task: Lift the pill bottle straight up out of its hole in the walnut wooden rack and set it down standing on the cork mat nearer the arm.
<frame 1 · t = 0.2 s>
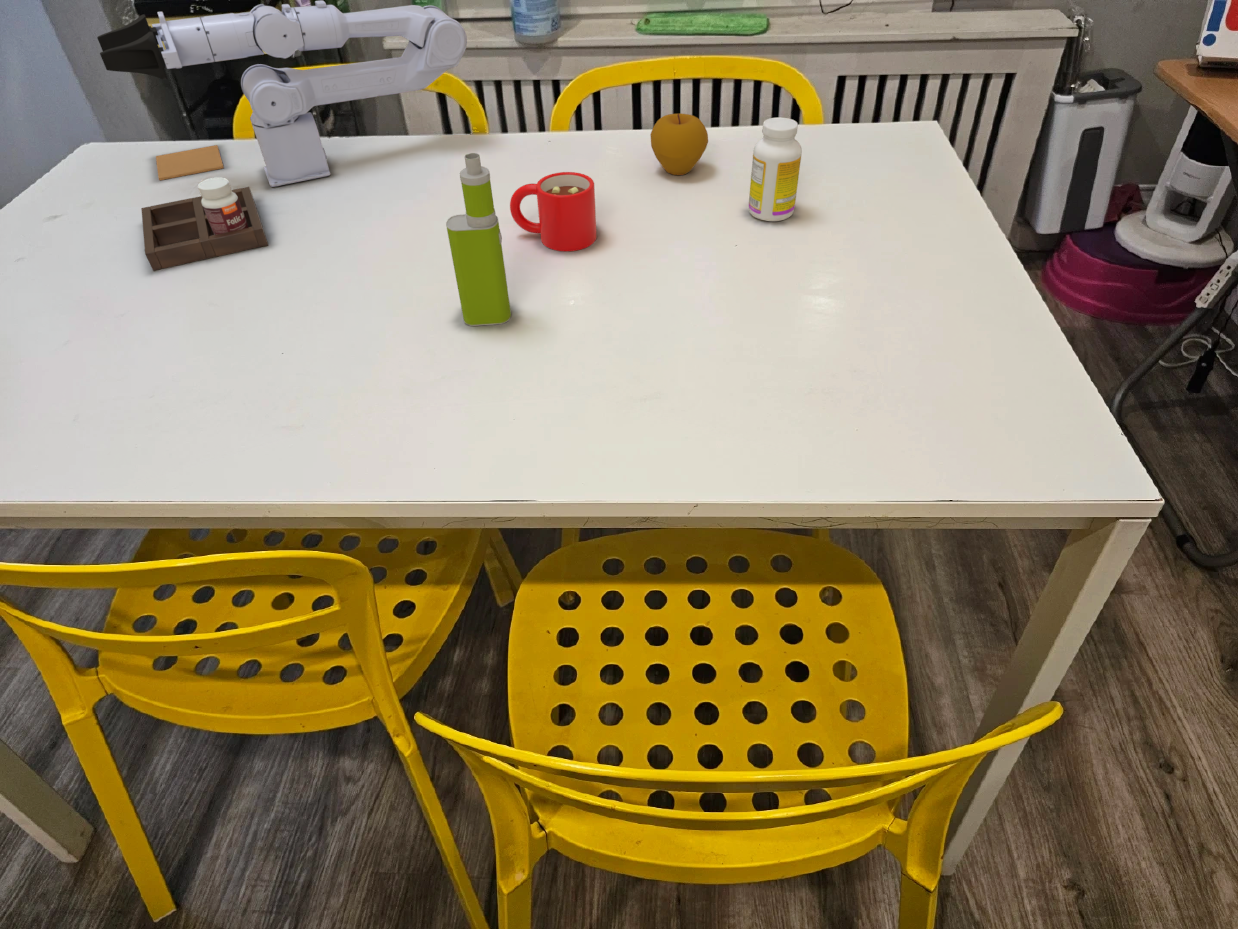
hand: (101, 53, 109), 21 cm above the table, tool horizontal, fingers open, 7 cm apart
apple: (678, 172, 127), on the table
cork mat: (189, 163, 134), on the table
mug: (554, 238, 112), on the table
pill bottle: (235, 240, 114), resting in rack
supplement bottle: (770, 213, 116), on the table
rack: (207, 234, 115), on the table
vape: (488, 317, 98), on the table
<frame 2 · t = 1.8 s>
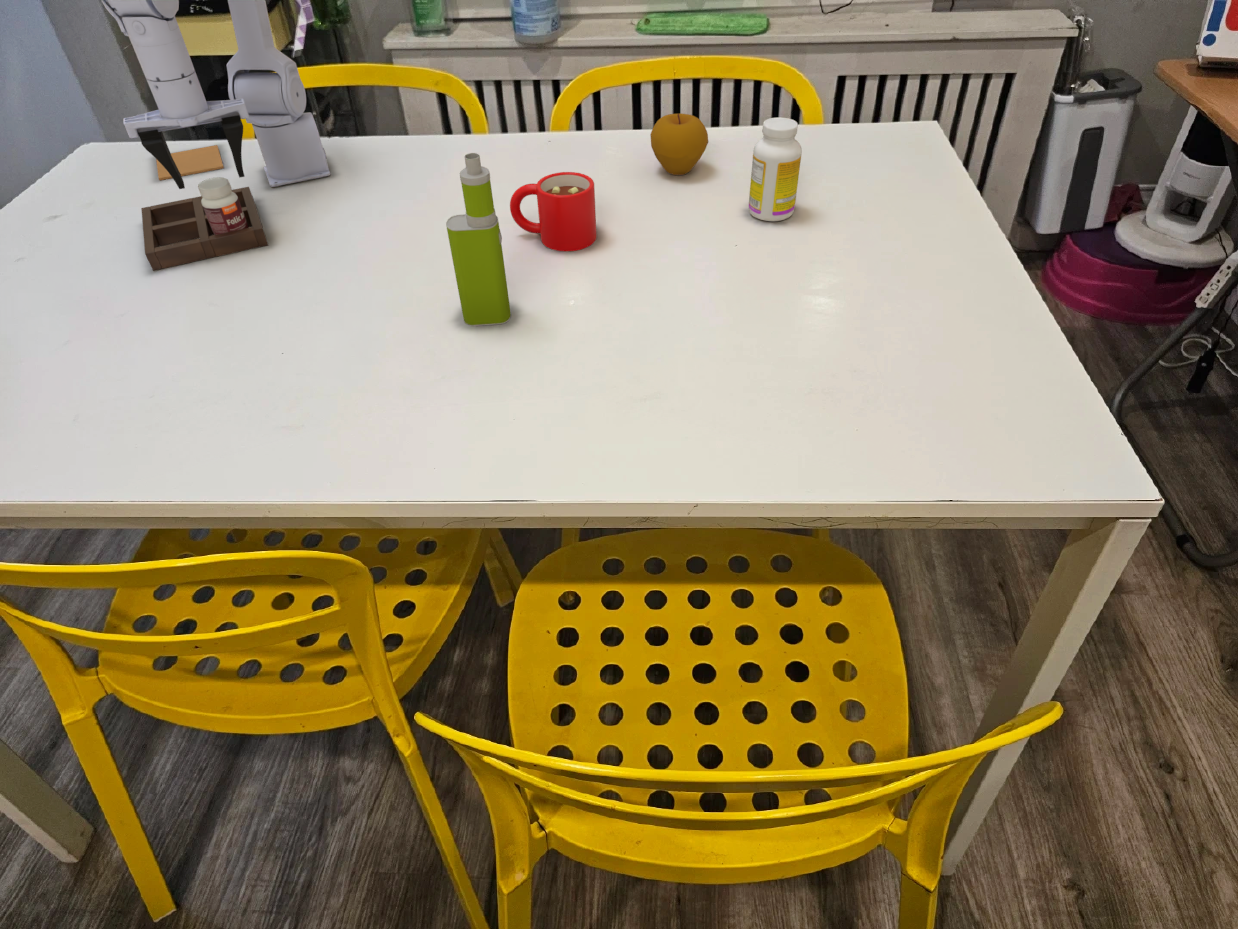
hand: (211, 180, 108), 9 cm above the table, tool pointing down, fingers open, 7 cm apart
nothing on the table moved.
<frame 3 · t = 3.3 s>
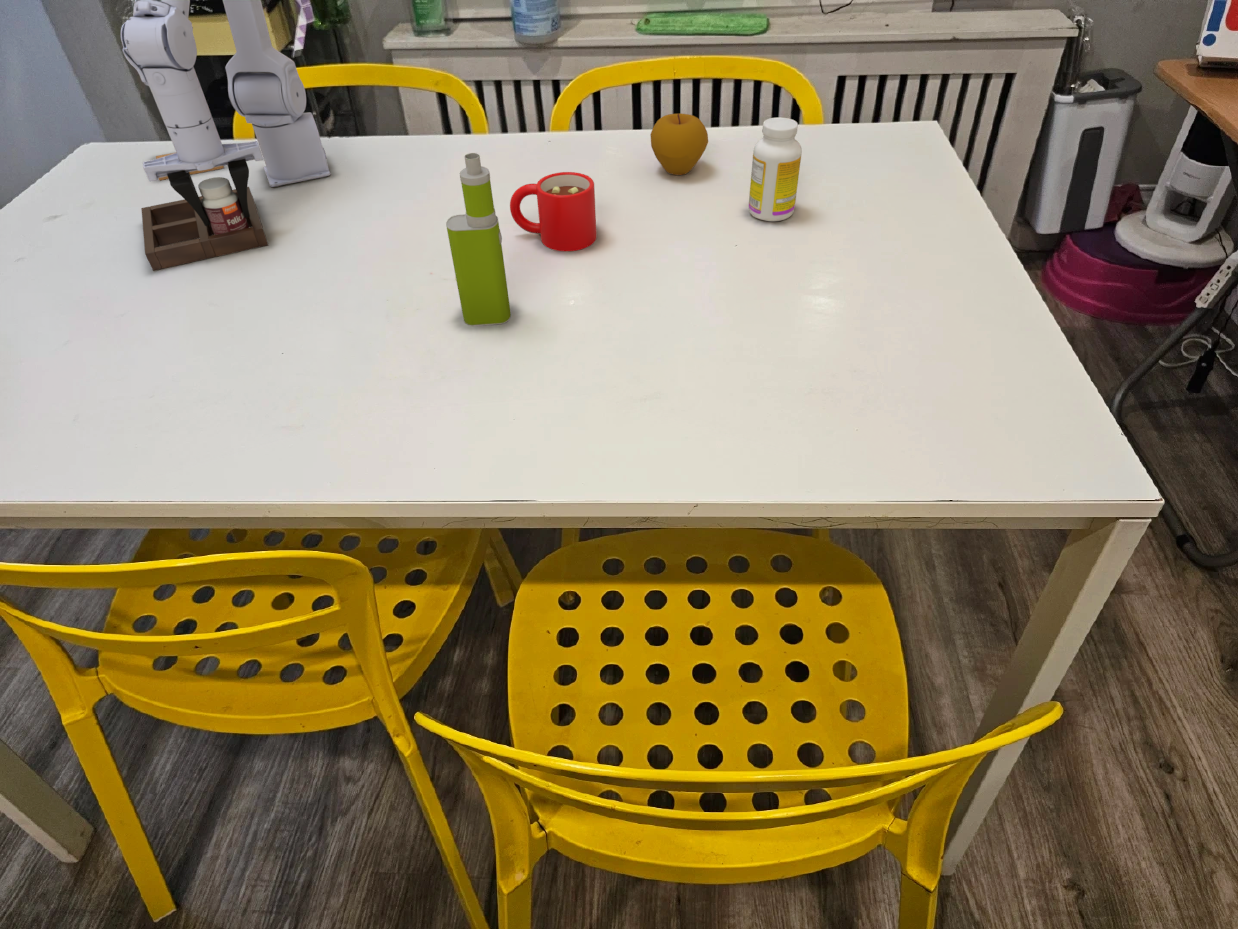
hand: (226, 218, 112), 3 cm above the table, tool pointing down, fingers closed on pill bottle, 5 cm apart
pill bottle: (235, 240, 114), resting in rack, touching gripper
everything else where it was.
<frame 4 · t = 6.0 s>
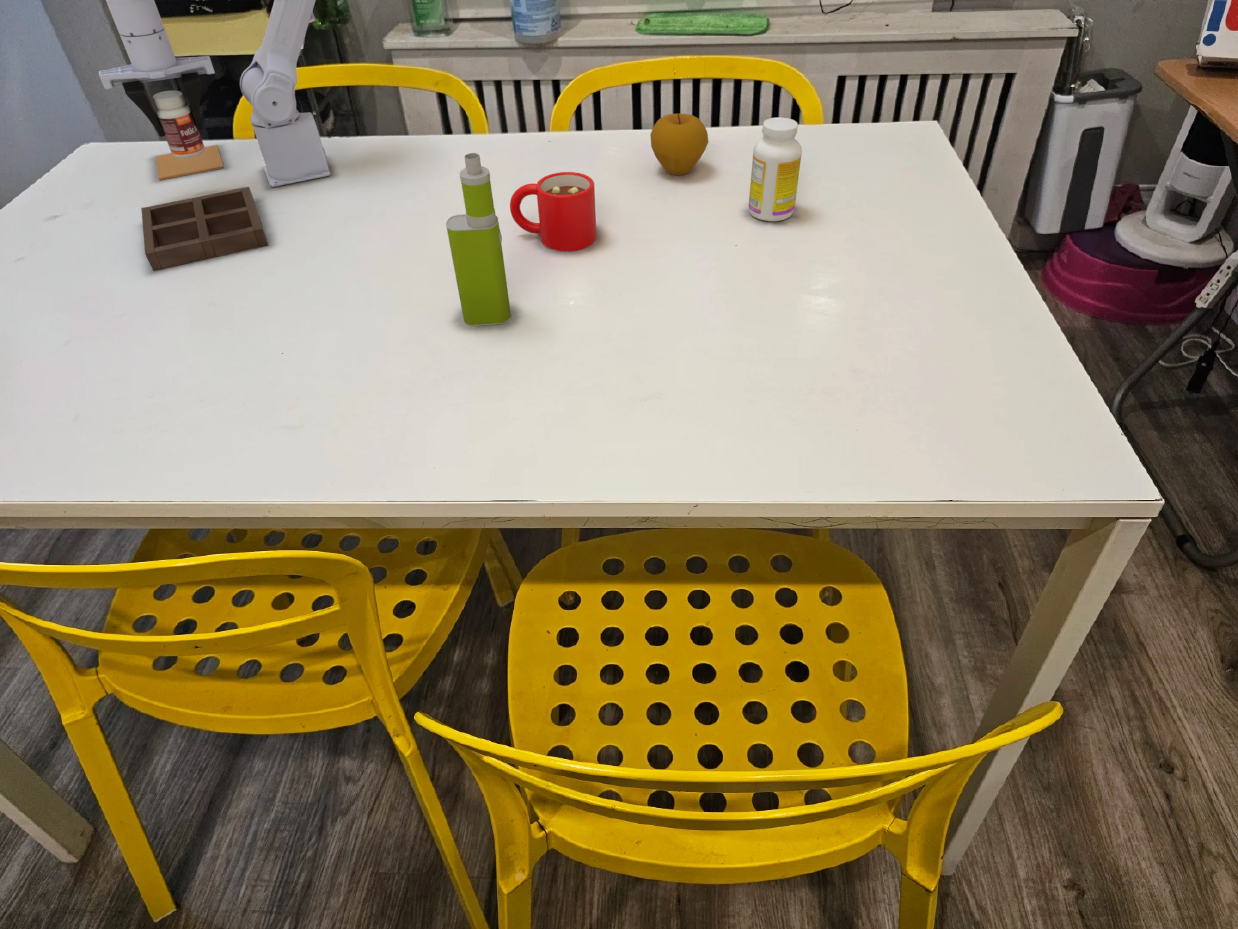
hand: (180, 131, 118), 10 cm above the table, tool pointing down, fingers closed on pill bottle, 5 cm apart
pill bottle: (189, 153, 120), point 6 cm above the table, touching gripper
everything else where it was.
when the fingers open (4 cm above the table, at t = 9.0 s): pill bottle stays where it is, resting on cork mat.
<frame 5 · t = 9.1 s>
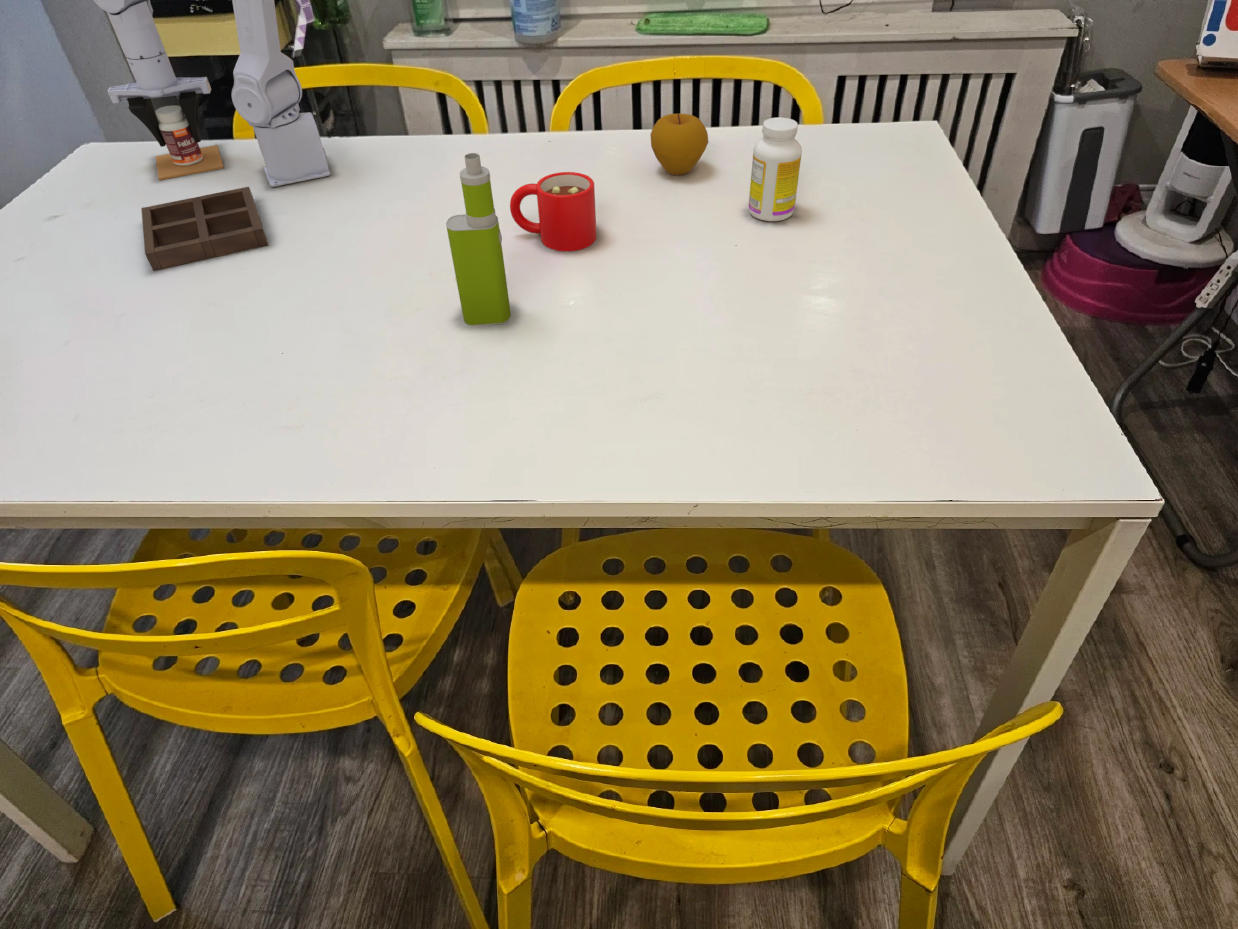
hand: (181, 142, 131), 4 cm above the table, tool pointing down, fingers open, 5 cm apart
pill bottle: (189, 161, 134), resting on cork mat
everything else where it was.
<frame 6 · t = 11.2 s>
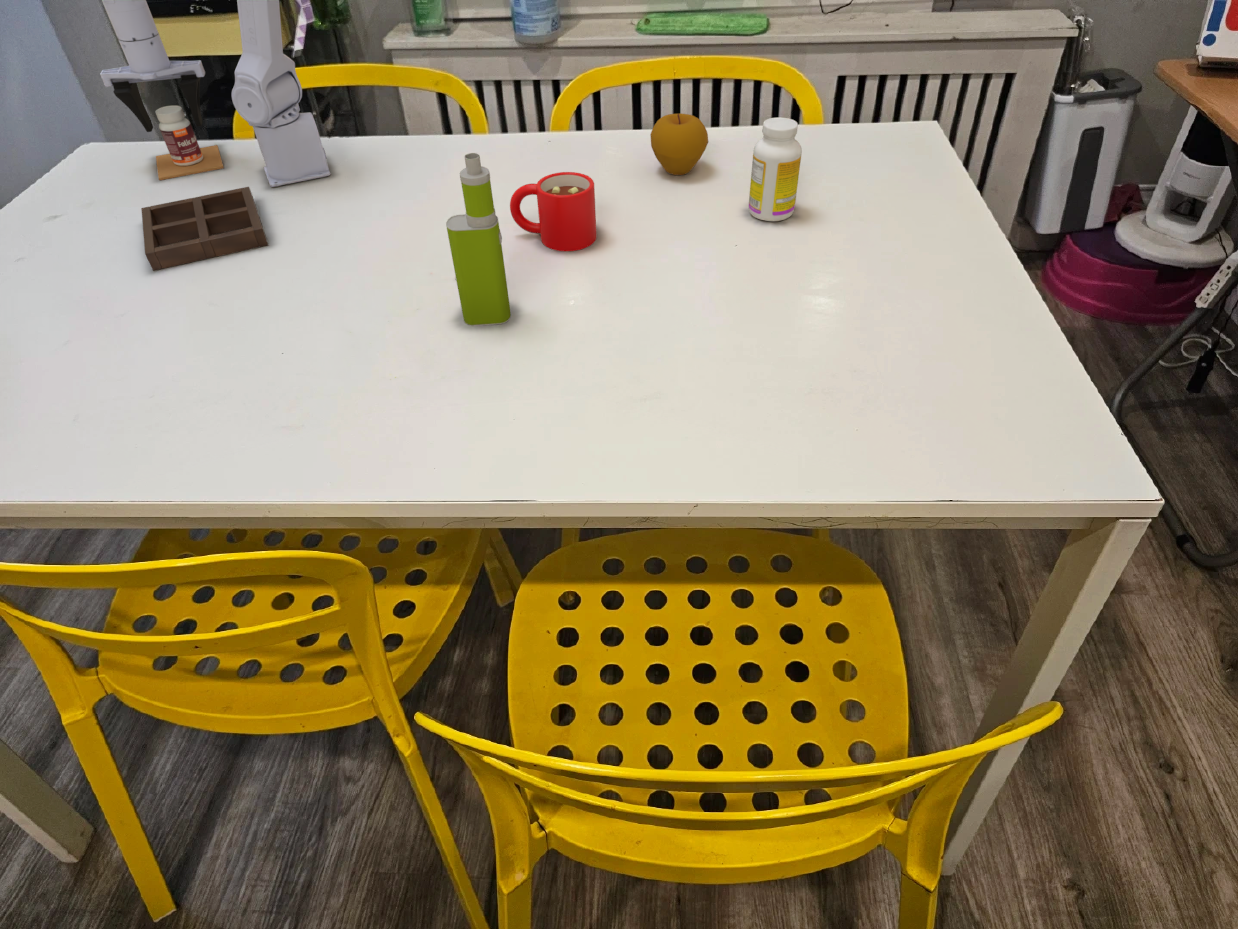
hand: (175, 126, 130), 6 cm above the table, tool pointing down, fingers open, 7 cm apart
nothing on the table moved.
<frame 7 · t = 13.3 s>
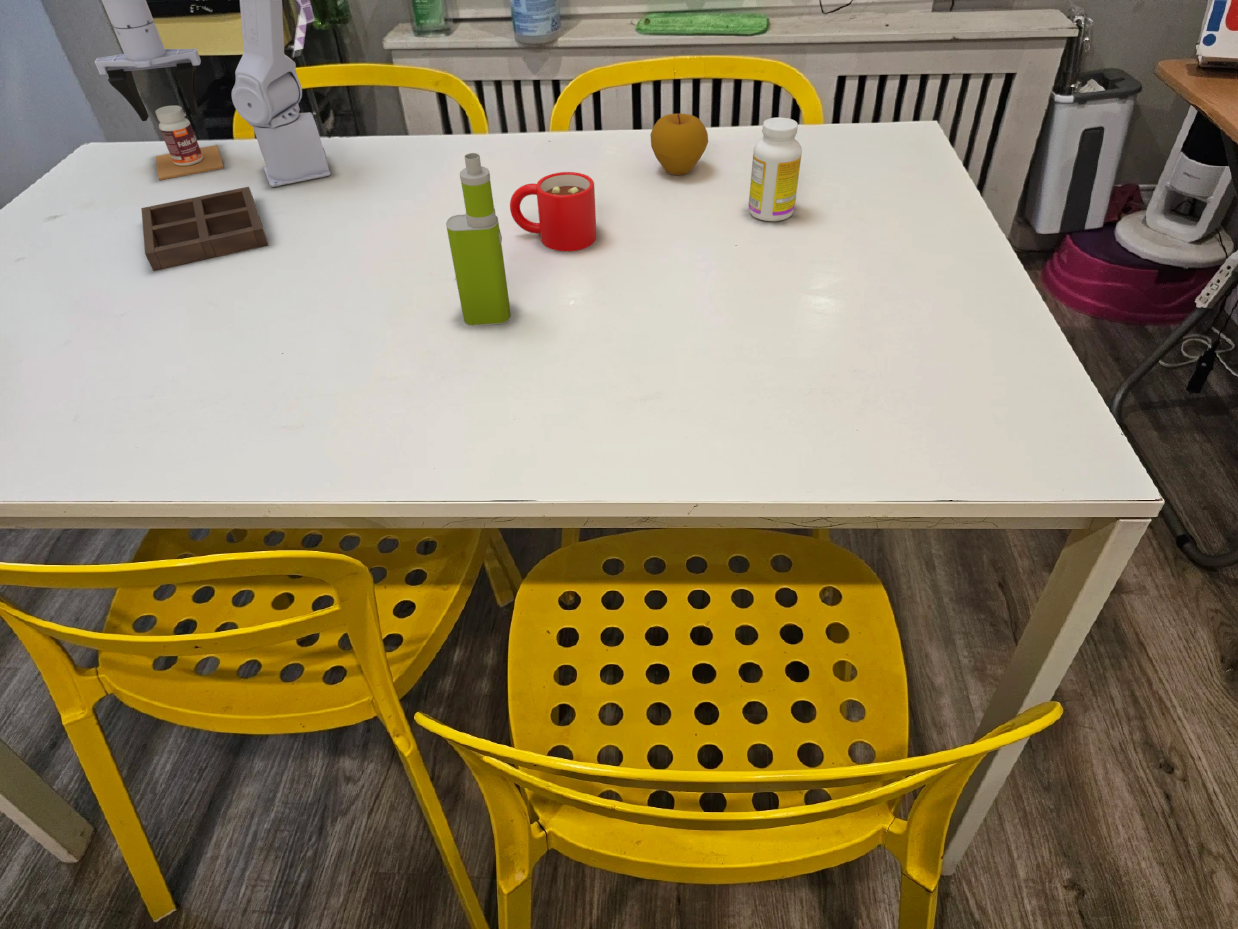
hand: (170, 116, 128), 8 cm above the table, tool pointing down, fingers open, 7 cm apart
nothing on the table moved.
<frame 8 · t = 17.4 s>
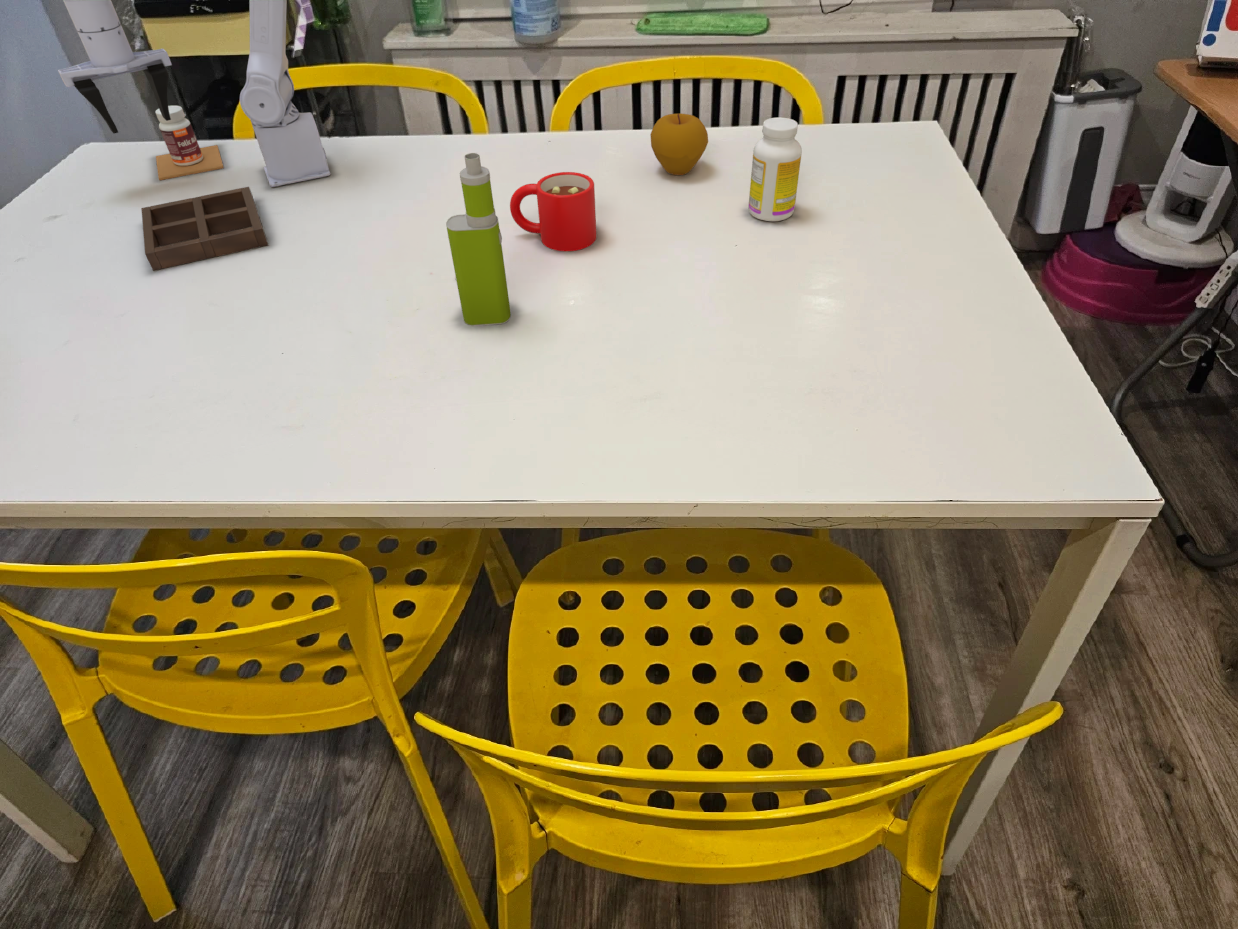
hand: (141, 124, 122), 9 cm above the table, tool pointing down, fingers open, 7 cm apart
nothing on the table moved.
at the end: pill bottle inside the target area on the cork mat (0.0 cm from its centre), point 0.2 cm above the cork mat's base; pill bottle tilted 0°; the gripper is holding nothing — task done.
